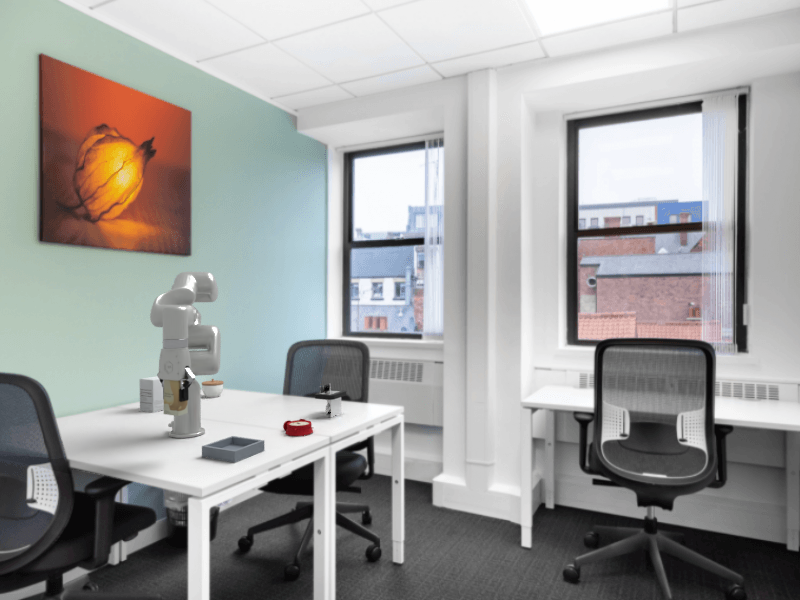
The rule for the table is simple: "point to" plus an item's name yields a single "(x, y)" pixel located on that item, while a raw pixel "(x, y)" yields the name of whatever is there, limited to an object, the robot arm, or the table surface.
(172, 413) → the skincare box
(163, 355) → the robot arm
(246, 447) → the tray
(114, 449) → the table surface
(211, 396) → the lidded jar
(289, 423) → the alarm clock
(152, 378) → the supplement box
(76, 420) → the table surface
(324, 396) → the black-topped pedestal
